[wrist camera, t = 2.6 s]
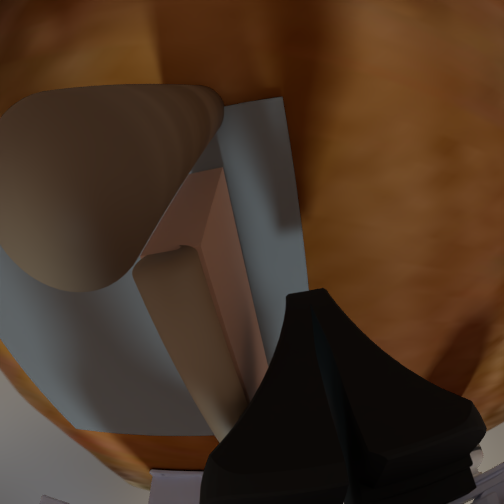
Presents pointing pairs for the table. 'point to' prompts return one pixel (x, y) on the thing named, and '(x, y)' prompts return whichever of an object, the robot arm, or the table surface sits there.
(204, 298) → the brown rimmed panel
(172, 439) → the table surface
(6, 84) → the table surface
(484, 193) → the table surface
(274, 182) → the mat
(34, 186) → the brown wooden posts
